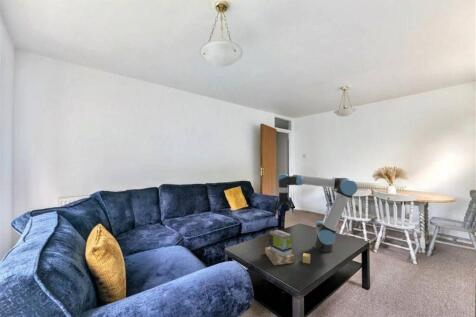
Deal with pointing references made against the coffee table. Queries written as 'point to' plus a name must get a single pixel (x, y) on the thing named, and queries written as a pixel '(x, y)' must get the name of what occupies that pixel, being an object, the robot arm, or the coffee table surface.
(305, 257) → the mustard cube
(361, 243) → the coffee table surface
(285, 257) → the oak pedestal
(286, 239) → the tea box
